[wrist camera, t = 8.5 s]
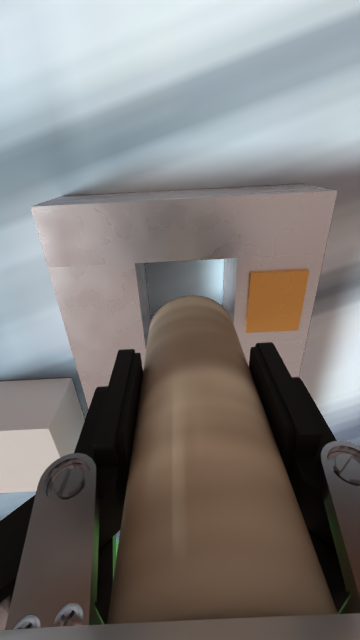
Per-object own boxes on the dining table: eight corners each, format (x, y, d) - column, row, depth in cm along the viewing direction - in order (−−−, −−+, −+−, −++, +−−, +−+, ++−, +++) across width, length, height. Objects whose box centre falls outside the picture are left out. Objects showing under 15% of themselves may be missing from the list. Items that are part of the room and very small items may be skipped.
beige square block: (-14, 382, 23) (-57, 433, 19) (71, 377, 23) (48, 428, 19) (14, 439, 27) (-17, 493, 22) (89, 435, 27) (73, 489, 22)
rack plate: (60, 196, 16) (28, 207, 13) (302, 183, 16) (339, 191, 13) (118, 444, 27) (110, 488, 24) (264, 437, 27) (278, 480, 24)
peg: (144, 297, 12) (78, 617, 4) (235, 293, 12) (379, 603, 4) (153, 369, 14) (121, 687, 6) (231, 365, 14) (320, 679, 6)
